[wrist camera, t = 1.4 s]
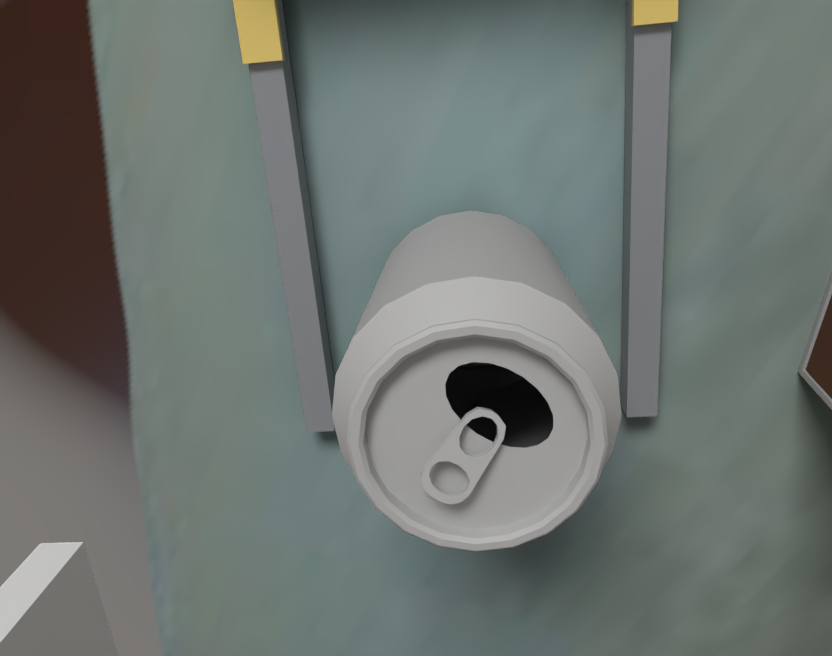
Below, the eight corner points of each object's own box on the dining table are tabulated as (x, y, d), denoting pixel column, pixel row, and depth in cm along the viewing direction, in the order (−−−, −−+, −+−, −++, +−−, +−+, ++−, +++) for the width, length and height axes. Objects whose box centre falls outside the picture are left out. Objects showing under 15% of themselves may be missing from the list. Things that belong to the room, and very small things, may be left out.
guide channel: (651, 402, 28) (700, 481, 22) (310, 419, 29) (273, 497, 24) (676, -319, 20) (759, -480, 14) (206, -252, 21) (115, -375, 16)
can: (603, 278, 26) (708, 418, 15) (490, 415, 29) (507, 626, 17) (447, 167, 25) (435, 229, 14) (343, 320, 28) (261, 478, 16)
